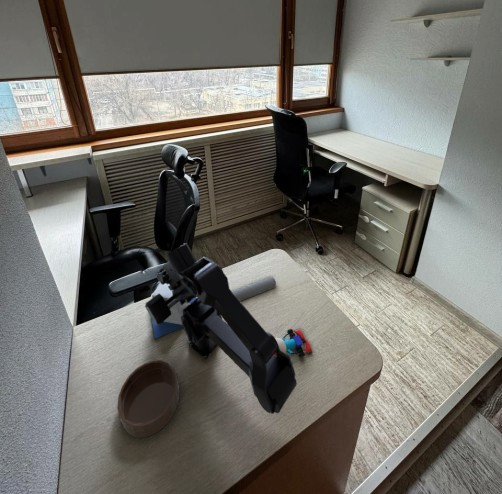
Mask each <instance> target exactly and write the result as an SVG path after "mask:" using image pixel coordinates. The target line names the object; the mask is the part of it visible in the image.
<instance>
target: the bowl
mask: <svg viewBox="0 0 502 494" xmlns="http://www.w3.org/2000/svg"><path fill="white" fill-rule="evenodd" d="M179 399H180V385H179V380H178V374H177V373H176V371H175V368H174V366H172V365H171V364H170V363H169V362H167V361H164V360H161V359H159V360H158V359H157V360H151V361H147V362H144V363H143V364H141V365H139V366H137V367H136V368H135V369H134V370H133V371H132V372H131V373H130V374H129V375H128V376H127V378H126V379H125V381H124V383H123V384H122V386H121V388H120V391H119V394H118V397H117V412H118V416H119V418H120V422H121V424H122V427H123V429H124V430H125V431H126V432H127V434H128V435H130V436H132V437H135V438H148V437H150V436H153V435H154V434H157V433H159V431H161V429H162V430H163V428H164V427H166V426H167V424H168V423H169V421H170V420H171V419H172V418H173V416H174V414H175V412H176V410H177V407H178V405H179Z"/></svg>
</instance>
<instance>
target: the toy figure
mask: <svg viewBox="0 0 502 494" xmlns="http://www.w3.org/2000/svg"><path fill="white" fill-rule="evenodd" d="M287 336H289V339H287V340H286V337H287ZM274 338H275V339H276V341H277V343H278V346H279V349H280V351H282V352H283V353H285V354H286V355H288V356H294V355H298V356H299V357H300V358H302V357H304V356H306V354H307V353H310V352H312V351H313V349H312V347H311V344H310V342H309V340H308V339H307V338H306V337H305V335H304V333H303V331H301V330H293V328H290V329H288V330H286V333H285V335H284V336H283V337H282V338H280V337H274ZM303 344H304V347H305V348H304V349H305V350H304V349H303ZM293 349H295V350H296V351H295V352H293V351H292V350H293ZM274 355H275V356H277V355H276V353H274Z"/></svg>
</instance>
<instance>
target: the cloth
mask: <svg viewBox="0 0 502 494" xmlns="http://www.w3.org/2000/svg"><path fill="white" fill-rule="evenodd" d="M195 299H197V297H195V298H194V299H192V300H191V301H190V302H189V304H190V303H192V302H193V301H194V300H195ZM151 324H152V330H153V337H154V340H158V339H159V338H161V337H163V336H166V335H168V334H170V333H172V332H175V331H177V330H179V329H182V328H184V327H183V325H180V324H174V323H169V322H164V321H163V322H162V323H161V324H159V325H156V324H155V323H154V322H153V320H152V319H151Z"/></svg>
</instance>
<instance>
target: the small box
mask: <svg viewBox="0 0 502 494" xmlns="http://www.w3.org/2000/svg"><path fill="white" fill-rule="evenodd" d="M168 286H169V284H168V285H167V284H166V283H165V284H164V285H162V284H161V283H160V282H159V284H158V286H157V287H156V289H154V292H153V293H152V294H151V299H152V298H153V297H155V296H156V295H157V294H161V295H162V296H163V298H164V300H165V301H166V300H167V299H168V298H170V297H171V296H172V295H173V294H172V290H171V291H170V289H169V288H168ZM174 300H176V299H174ZM174 300H173V301H174ZM173 301H172V302H173ZM172 302H170V303H169V304H168V305H170V304H171V303H172ZM188 305H189V303H186V302H185V303H184V304H183V305H181V304H180V303H179V302H177V303H176V304H175V305H174V306H173V307H171V308H170V310H171V314H172V315H170V316H169V317H168V318H167V319H166V320H165V321H164V322H169V323H174V324H180V325H182V321H181V316H182V315H183V312H182V310H183V309H184V308H185V307H187V306H188Z"/></svg>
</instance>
